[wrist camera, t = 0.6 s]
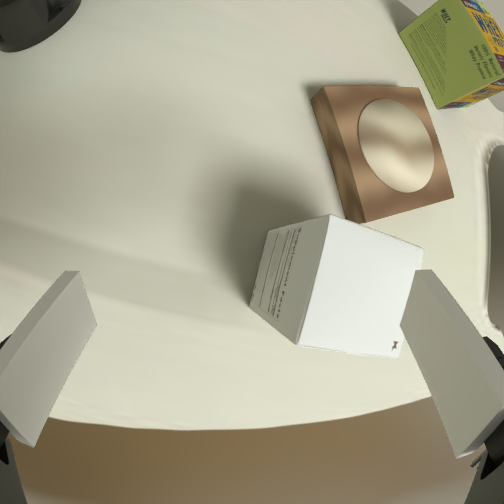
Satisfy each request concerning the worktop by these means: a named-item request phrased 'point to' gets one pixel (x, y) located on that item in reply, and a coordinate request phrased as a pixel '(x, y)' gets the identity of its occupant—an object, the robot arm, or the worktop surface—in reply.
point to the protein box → (457, 52)
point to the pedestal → (381, 150)
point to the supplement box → (336, 286)
